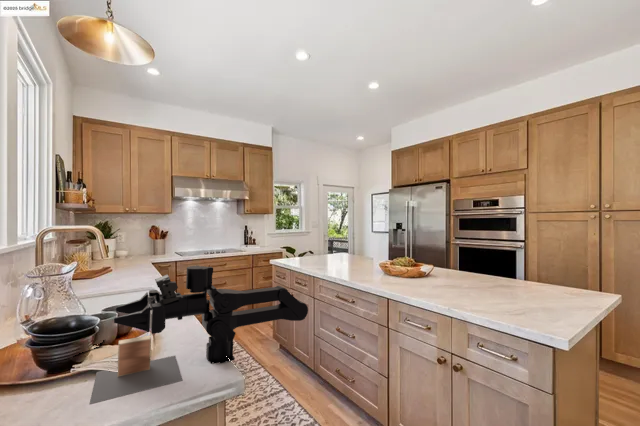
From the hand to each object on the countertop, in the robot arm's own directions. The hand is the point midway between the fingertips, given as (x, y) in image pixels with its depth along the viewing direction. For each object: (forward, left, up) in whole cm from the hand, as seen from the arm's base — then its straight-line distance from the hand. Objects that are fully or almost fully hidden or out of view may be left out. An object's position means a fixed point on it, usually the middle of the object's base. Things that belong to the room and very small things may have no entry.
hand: (115, 314), depth 70 cm
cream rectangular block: (-4, -3, -16) cm, 17 cm away
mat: (-5, +1, -16) cm, 17 cm away
